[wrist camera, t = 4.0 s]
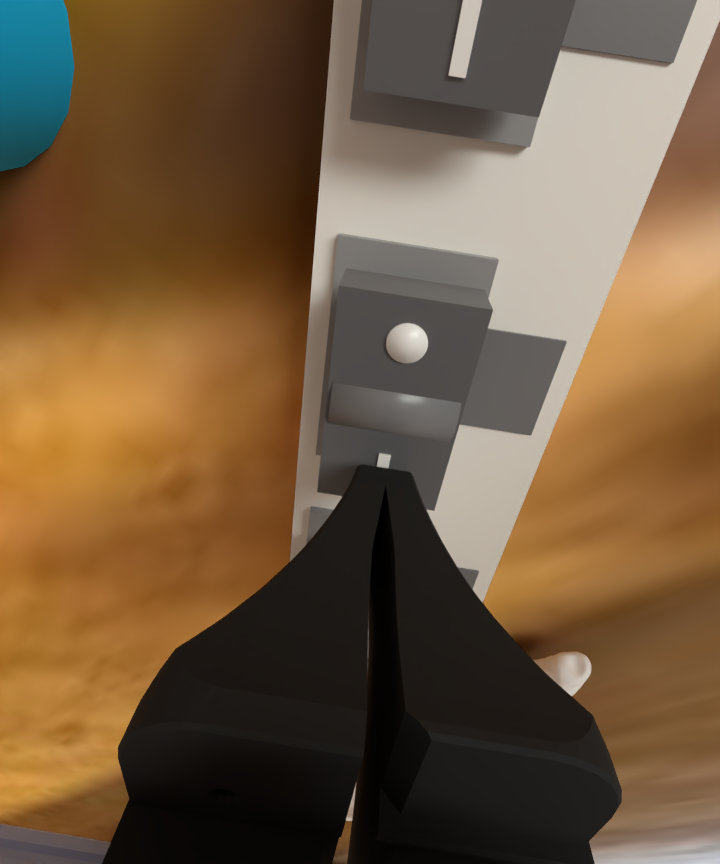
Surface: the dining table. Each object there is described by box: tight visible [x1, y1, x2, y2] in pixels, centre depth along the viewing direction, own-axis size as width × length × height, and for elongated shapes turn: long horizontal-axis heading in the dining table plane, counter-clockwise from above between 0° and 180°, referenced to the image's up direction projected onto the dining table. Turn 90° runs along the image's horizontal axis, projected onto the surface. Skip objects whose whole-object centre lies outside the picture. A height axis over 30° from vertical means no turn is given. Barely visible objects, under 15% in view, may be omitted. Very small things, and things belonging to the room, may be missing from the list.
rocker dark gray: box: [317, 268, 493, 511], centre depth 12 cm, size 3×6×2 cm, turn 172°
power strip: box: [290, 0, 720, 603], centre depth 14 cm, size 8×34×5 cm, turn 172°
